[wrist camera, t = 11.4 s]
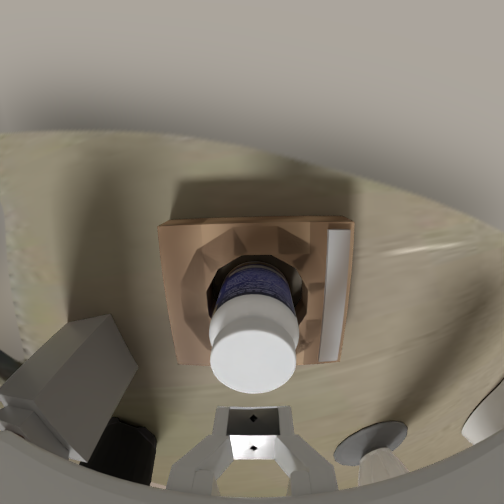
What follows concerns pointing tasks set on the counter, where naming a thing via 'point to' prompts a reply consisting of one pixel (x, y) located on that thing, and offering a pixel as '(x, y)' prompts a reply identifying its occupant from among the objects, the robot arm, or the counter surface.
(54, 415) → the perfume bottle
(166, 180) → the counter surface
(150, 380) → the counter surface
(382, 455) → the cup
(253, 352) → the pill bottle
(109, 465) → the portable speaker
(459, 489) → the robot arm
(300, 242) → the jig
